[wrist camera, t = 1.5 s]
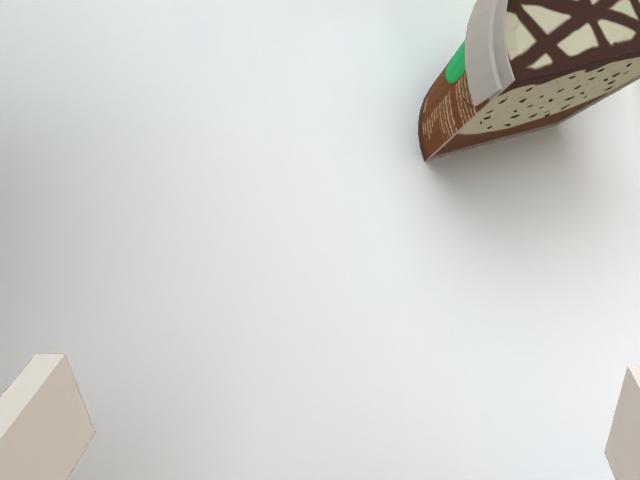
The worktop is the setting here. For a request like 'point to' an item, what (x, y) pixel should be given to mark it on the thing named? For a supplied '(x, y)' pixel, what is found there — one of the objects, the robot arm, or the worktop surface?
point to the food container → (529, 70)
